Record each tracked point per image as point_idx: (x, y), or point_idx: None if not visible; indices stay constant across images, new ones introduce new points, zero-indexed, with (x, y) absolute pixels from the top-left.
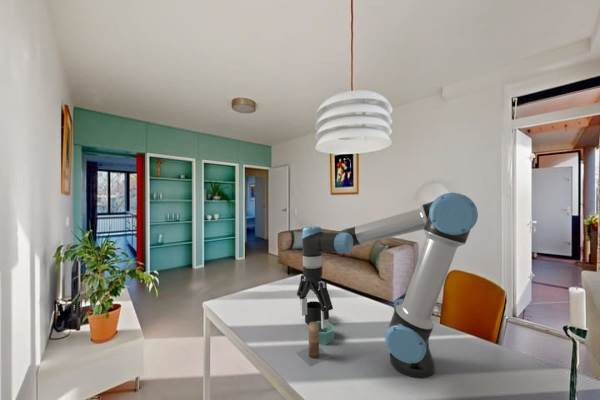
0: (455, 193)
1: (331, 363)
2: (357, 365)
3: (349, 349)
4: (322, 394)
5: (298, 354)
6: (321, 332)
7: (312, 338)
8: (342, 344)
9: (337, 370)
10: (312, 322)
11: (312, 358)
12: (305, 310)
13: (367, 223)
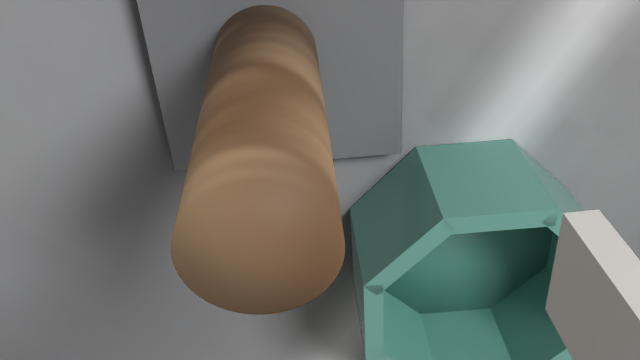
0: None
1: (123, 131)
2: (31, 269)
3: (227, 323)
4: None
5: None
6: (402, 268)
7: (211, 106)
8: (307, 318)
9: (19, 122)
10: (321, 258)
11: (228, 17)
12: (584, 338)
13: None
